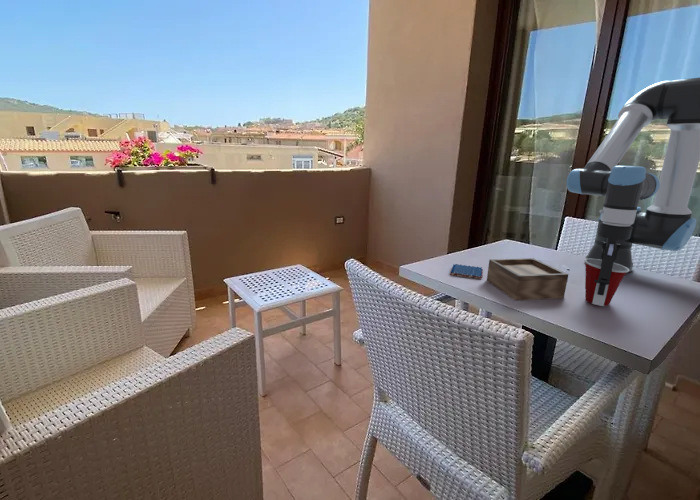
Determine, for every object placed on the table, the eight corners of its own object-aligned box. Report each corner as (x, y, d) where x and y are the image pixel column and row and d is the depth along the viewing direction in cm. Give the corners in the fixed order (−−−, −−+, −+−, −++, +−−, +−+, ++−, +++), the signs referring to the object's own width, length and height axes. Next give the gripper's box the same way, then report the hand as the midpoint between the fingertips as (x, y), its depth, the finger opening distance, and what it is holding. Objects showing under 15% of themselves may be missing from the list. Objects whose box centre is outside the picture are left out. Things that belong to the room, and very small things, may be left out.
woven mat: (482, 281, 122) (482, 276, 121) (449, 277, 126) (450, 271, 125) (483, 272, 131) (483, 266, 131) (452, 268, 135) (453, 262, 134)
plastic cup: (628, 312, 100) (638, 271, 97) (585, 307, 102) (594, 267, 99) (609, 297, 110) (618, 259, 107) (570, 293, 112) (578, 256, 109)
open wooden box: (529, 279, 124) (533, 258, 122) (563, 298, 109) (568, 274, 107) (486, 280, 121) (489, 259, 119) (515, 300, 106) (518, 276, 104)
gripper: (601, 216, 110) (586, 285, 116) (598, 227, 93) (580, 308, 100) (631, 219, 106) (614, 291, 112) (634, 232, 89) (613, 315, 95)
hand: (598, 299), depth 106 cm, fingers closed on plastic cup, 9 cm apart
